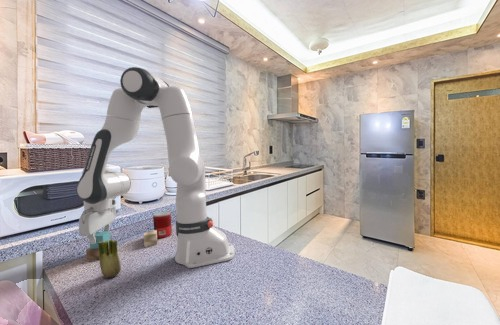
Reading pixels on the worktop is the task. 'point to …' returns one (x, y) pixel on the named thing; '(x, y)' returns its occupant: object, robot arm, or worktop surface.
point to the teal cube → (100, 238)
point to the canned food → (162, 224)
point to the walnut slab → (92, 253)
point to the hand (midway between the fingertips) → (100, 238)
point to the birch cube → (150, 238)
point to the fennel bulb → (109, 258)
